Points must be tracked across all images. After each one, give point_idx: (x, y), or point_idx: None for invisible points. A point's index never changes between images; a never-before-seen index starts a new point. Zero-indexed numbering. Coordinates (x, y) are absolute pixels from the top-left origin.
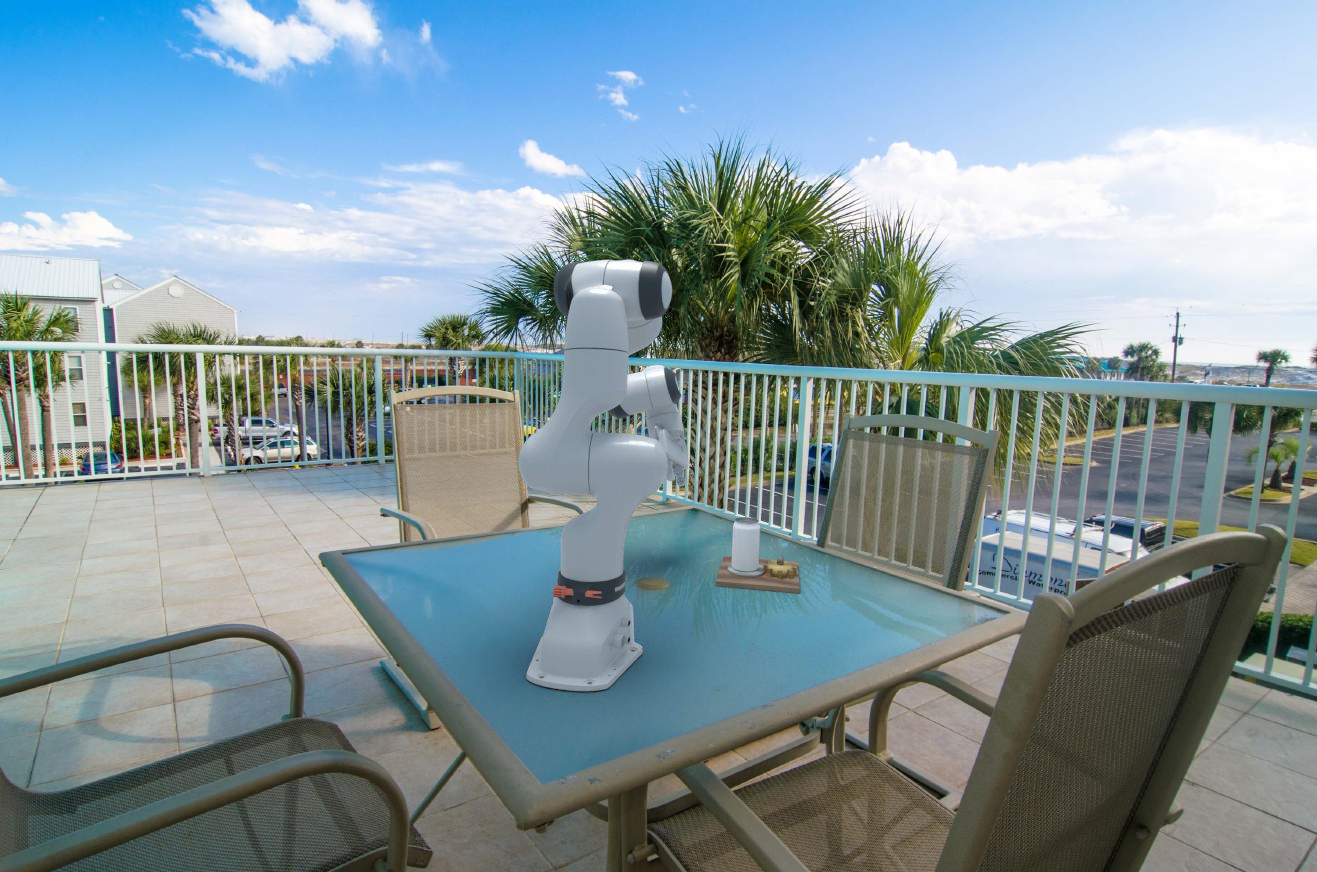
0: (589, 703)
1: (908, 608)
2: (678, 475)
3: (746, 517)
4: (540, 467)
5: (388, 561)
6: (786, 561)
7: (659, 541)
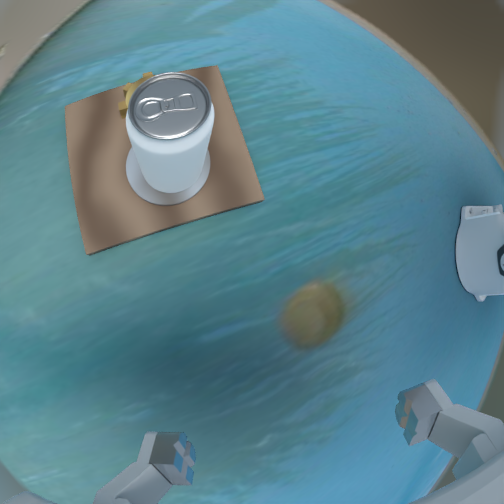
0: None
1: None
2: (150, 498)
3: (131, 115)
4: None
5: None
6: (69, 122)
7: (68, 433)
